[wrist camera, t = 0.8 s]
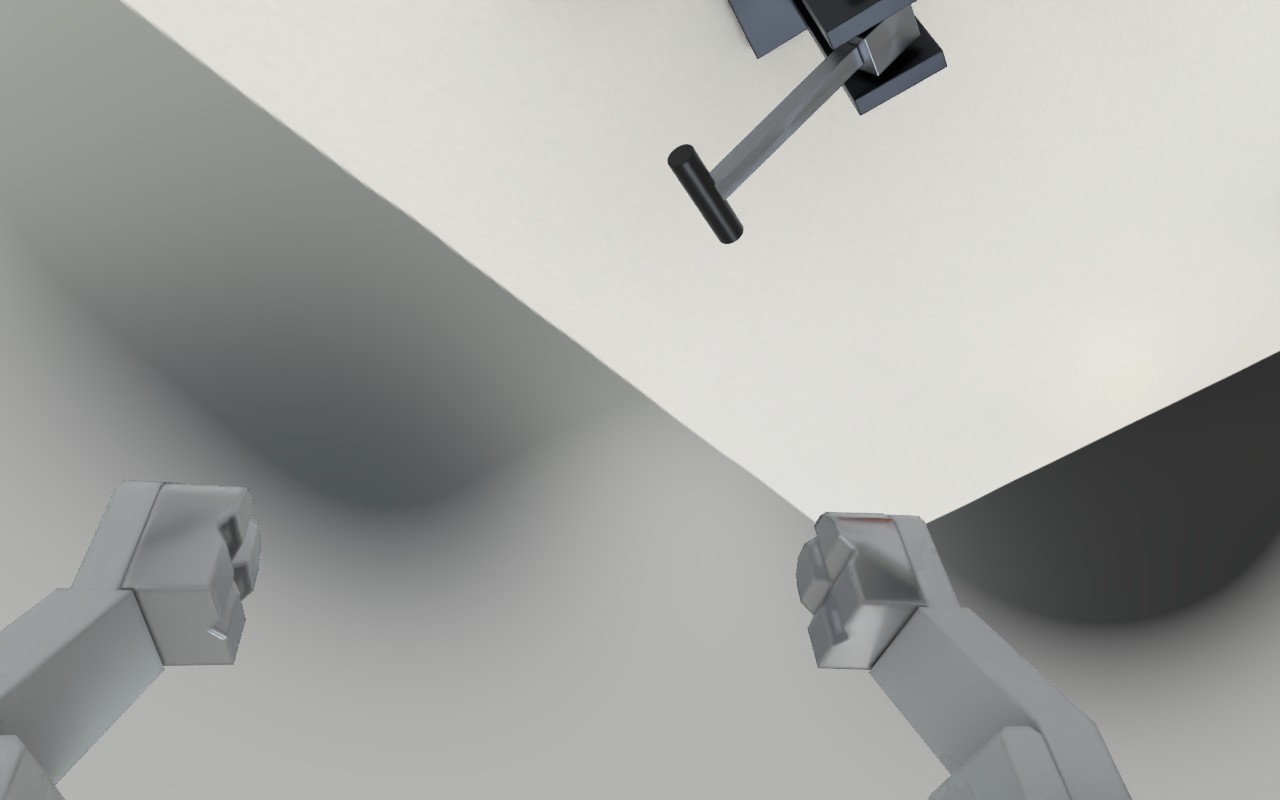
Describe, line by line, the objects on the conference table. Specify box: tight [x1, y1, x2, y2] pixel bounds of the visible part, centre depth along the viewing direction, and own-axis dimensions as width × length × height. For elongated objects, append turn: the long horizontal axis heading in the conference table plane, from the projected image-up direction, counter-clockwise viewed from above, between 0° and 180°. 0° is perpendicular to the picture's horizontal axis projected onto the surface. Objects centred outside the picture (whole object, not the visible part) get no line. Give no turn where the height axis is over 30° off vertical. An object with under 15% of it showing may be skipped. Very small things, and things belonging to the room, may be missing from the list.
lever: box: [668, 4, 920, 244], centre depth 40 cm, size 13×6×2 cm, turn 119°
